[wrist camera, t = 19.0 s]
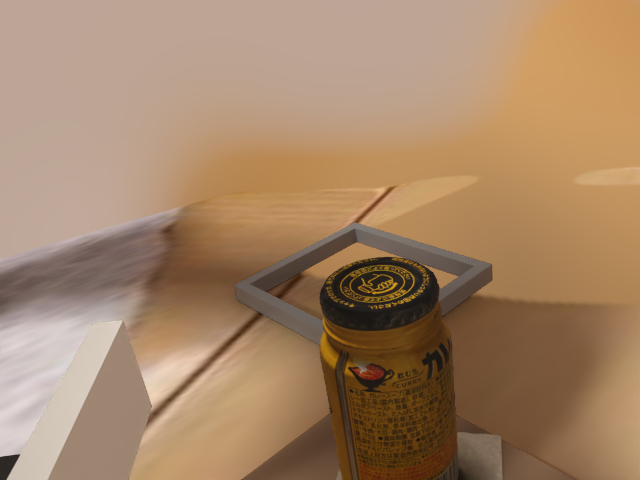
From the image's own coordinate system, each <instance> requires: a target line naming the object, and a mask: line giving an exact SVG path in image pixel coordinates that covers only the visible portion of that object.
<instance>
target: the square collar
mask: <svg viewBox="0 0 640 480" xmlns="http://www.w3.org/2000/svg"><path fill="white" fill-rule="evenodd" d="M356 242H359V243H362V244H365V245H368V246H370V247H373V248H377V249H379V250H382V251H385V252H388V253H391V254H394V255H397V256H400V257H403V258H406V259H409V260H412V261H415V262H418V263H421V264H424V265H427V266H430V267H433V268H436V269H439V270H442V271H445V272H448V273H450V274H454V275H456V276H459V277H458V278H456V279H455V280H453V281H452V282H450V283H449V284H448V285H446V286H445V287H443V288H442V289H440V290H439V303H440V305H441V308H442V316H444V315H445V314H446V313H448V312H449V311H451V310H452V309H453V308H455V307H456V306H457V305H459V304H460V303H462V302H463V301H464V300H466V299H467V298H468V297H470V296H471V295H473V294H474V293H475V292H477V291H478V290H479V289H481V288H482V287H484V286H485V285H486V284H488V283H489V282H490V281H492V264H489V263H486V262H483V261H479V260H476V259H473V258H470V257H466V256H463V255H459V254H457V253H453V252H450V251H446V250H443V249H440V248H437V247H434V246H430V245H427V244H424V243H421V242H417V241H414V240H411V239H407V238H404V237H401V236H398V235H394V234H391V233H388V232H384V231H381V230H378V229H375V228H371V227H368V226H365V225H362V224H358V223H353V224H351V225H349V226H347V227H345V228H343V229H341V230H340V231H338V232H336V233H334V234H332V235H330V236H328V237H326V238H324V239H322V240H320V241H318V242H316V243H314V244H312V245H311V246H309V247H307V248H305V249H303V250H301V251H299V252H297V253H295V254H293V255H291V256H289V257H287V258H285V259H284V260H282V261H280V262H278V263H276V264H274V265H272V266H270V267H268V268H266V269H264V270H262V271H260V272H258V273H256V274H255V275H253V276H251V277H249V278H247V279H245V280H243V281H241V282H239V283H237V284H235V285H234V289H235V294H236V298H237V300H238V301H240V302H242V303H243V304H245V305H247V306H249V307H251V308H252V309H254V310H256V311H258V312H260V313H262V314H263V315H265V316H267V317H269V318H271V319H273V320H274V321H276V322H278V323H280V324H282V325H283V326H285V327H287V328H289V329H291V330H293V331H294V332H296V333H298V334H300V335H302V336H304V337H305V338H307V339H309V340H311V341H313V342H314V343H316V344H318V345H320V341H321V338H322V334H323V332H324V329H323V320H321V319H319V318H317V317H315V316H313V315H311V314H309V313H307V312H305V311H303V310H301V309H299V308H297V307H295V306H293V305H291V304H289V303H287V302H285V301H283V300H281V299H279V298H277V297H275V296H273V295H271V294H269V293H267V292H266V291H267V290H269V289H271V288H273V287H275V286H277V285H278V284H280V283H282V282H284V281H286V280H288V279H289V278H291V277H293V276H295V275H297V274H299V273H300V272H302V271H304V270H306V269H308V268H309V267H311V266H313V265H315V264H317V263H319V262H321V261H322V260H324V259H326V258H328V257H330V256H332V255H334V254H335V253H337V252H339V251H341V250H343V249H345V248H346V247H348V246H350V245H352V244H354V243H356Z"/></svg>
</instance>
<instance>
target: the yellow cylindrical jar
mask: <svg viewBox="0 0 640 480" xmlns="http://www.w3.org/2000/svg"><path fill="white" fill-rule="evenodd" d="M320 304H321V308H322V313H323V329H324V332H323V334H322V338H321V341H320V358H321V363H322V369H323V373H324V379H325V384H326V390H327V395H328V401H329V405H330V408H329V409H330V414H331V419H332V427H333V431H334V437H335V441H336V446H337V450H336V454H337V456H338V459H339V472H338V475H337V479H336V480H503V475H502V453H501V452H502V449H501V435H490V434H471V433H466V432H458V433H457V419H456V408H455V393H454V382H453V381H454V379H453V360H452V343H451V337H450V332H449V330H448V328H447V325H446V323H445V322H444V321H443V320H442V308H441V305H440V303H439V285H438V283H437V279H436V277H435V275H434V273H433V272H432V271H430V270H429V269H428V268H426V267H425V266H423V265H421V264H419V263H417V262H414V261H411V260H408V259H403V258H396V257H381V258H380V257H379V258H372V259H365V260H360V261H357V262H354V263H352V264H348V265H346V266H343V267H342V268H340V269H338V270H337V271H335V272H334V273H333V274H332V275H330V276H329V277H328V278H327V280H326V282H325V284H324V285H323V287H322V289H321V292H320Z"/></svg>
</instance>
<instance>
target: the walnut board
mask: <svg viewBox="0 0 640 480" xmlns="http://www.w3.org/2000/svg"><path fill="white" fill-rule="evenodd" d="M456 419H457V433H458V432H466V433H471V434H490V433H488V432H486V431H485V430H483V429H481V428H479V427H477V426H475V425H473V424H472V423H470V422H468V421H466V420H464V419H462V418H461V417H459V416H457V415H456ZM490 435H492V434H490ZM501 449H502V452H501V453H502V475H503V480H575V479H573V478H571V477H570V476H568V475H566V474H564V473H562V472H560V471H558V470H557V469H555V468H553V467H551V466H549V465H547V464H546V463H544V462H542V461H540V460H538V459H536V458H534V457H533V456H531V455H529V454H527V453H525V452H523V451H522V450H520V449H518V448H516V447H514V446H512V445H510V444H509V443H507V442H505V441H503V440H501ZM336 450H337V446H336V441H335V437H334V431H333V427H332V419H331V414H329V415H327V416H326V417H325V418H323V419H322V420H321V421H319V422H318V423H317V424H315V425H314V426H313V427H311V428H310V429H309V430H307V431H306V432H305V433H303V434H302V435H300V436H299V437H298V438H296V439H295V440H294V441H292V442H291V443H290V444H288V445H287V446H286V447H284V448H283V449H282V450H280V451H279V452H278V453H276V454H275V455H274V456H272V457H271V458H270V459H268V460H267V461H266V462H264V463H263V464H262V465H260V466H259V467H258V468H256V469H255V470H254V471H252V472H251V473H250V474H248V475H247V476H246V477H244V478H243V479H241V480H336V479H337V475H338V472H339V459H338V456H337V454H336Z"/></svg>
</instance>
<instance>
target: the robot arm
mask: <svg viewBox="0 0 640 480" xmlns="http://www.w3.org/2000/svg"><path fill="white" fill-rule="evenodd" d="M151 408H152V405H151V402H150V399H149V396H148V393H147V390H146V387H145V384H144V381H143V378H142V375H141V372H140V369H139V366H138V363H137V360H136V357H135V354H134V351H133V348H132V345H131V342H130V339H129V336H128V333H127V330H126V327H125V324H124V321H123V320H118V321H111V322H103V323H95V324H92V326H91V327H90V329H89V331H88V333H87V335H86V337H85V338H84V340H83V342H82V344H81V346H80V347H79V349H78V351H77V353H76V355H75V357H74V358H73V360H72V362H71V364H70V366H69V367H68V369H67V371H66V373H65V375H64V377H63V378H62V380H61V382H60V384H59V386H58V387H57V389H56V391H55V393H54V395H53V396H52V398H51V400H50V402H49V404H48V406H47V407H46V409H45V411H44V413H43V415H42V416H41V418H40V420H39V422H38V424H37V426H36V427H35V429H34V431H33V433H32V435H31V436H30V438H29V440H28V442H27V444H26V446H25V447H24V449H23V451H22V453H21V454H19V455H11V456H3V457H0V480H129V477H130V473H131V470H132V467H133V464H134V461H135V458H136V455H137V452H138V448H139V445H140V442H141V439H142V436H143V433H144V430H145V427H146V424H147V420H148V417H149V414H150V411H151Z"/></svg>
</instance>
